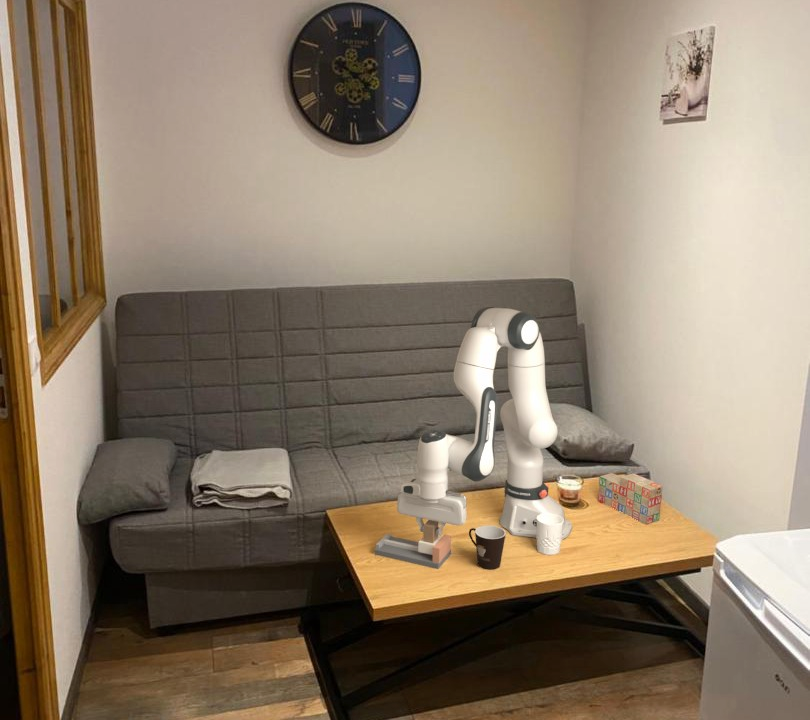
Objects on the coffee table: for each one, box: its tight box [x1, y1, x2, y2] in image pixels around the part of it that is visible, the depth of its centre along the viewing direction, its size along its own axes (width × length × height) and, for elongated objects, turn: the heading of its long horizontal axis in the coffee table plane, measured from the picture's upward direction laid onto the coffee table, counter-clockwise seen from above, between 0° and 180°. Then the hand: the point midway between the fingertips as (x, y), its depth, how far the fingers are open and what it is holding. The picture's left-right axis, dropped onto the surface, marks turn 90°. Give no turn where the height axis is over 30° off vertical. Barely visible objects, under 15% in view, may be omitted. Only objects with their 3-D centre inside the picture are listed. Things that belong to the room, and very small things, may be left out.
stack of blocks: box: [597, 472, 664, 526], centre depth 268 cm, size 21×6×12 cm, turn 33°
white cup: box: [536, 513, 564, 556], centre depth 240 cm, size 8×8×10 cm
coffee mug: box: [468, 524, 507, 571], centre depth 232 cm, size 12×9×10 cm
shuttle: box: [418, 519, 443, 555], centre depth 234 cm, size 5×6×8 cm
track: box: [373, 533, 452, 570], centre depth 237 cm, size 20×10×6 cm, turn 66°
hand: (430, 532), depth 233 cm, fingers open, 3 cm apart
